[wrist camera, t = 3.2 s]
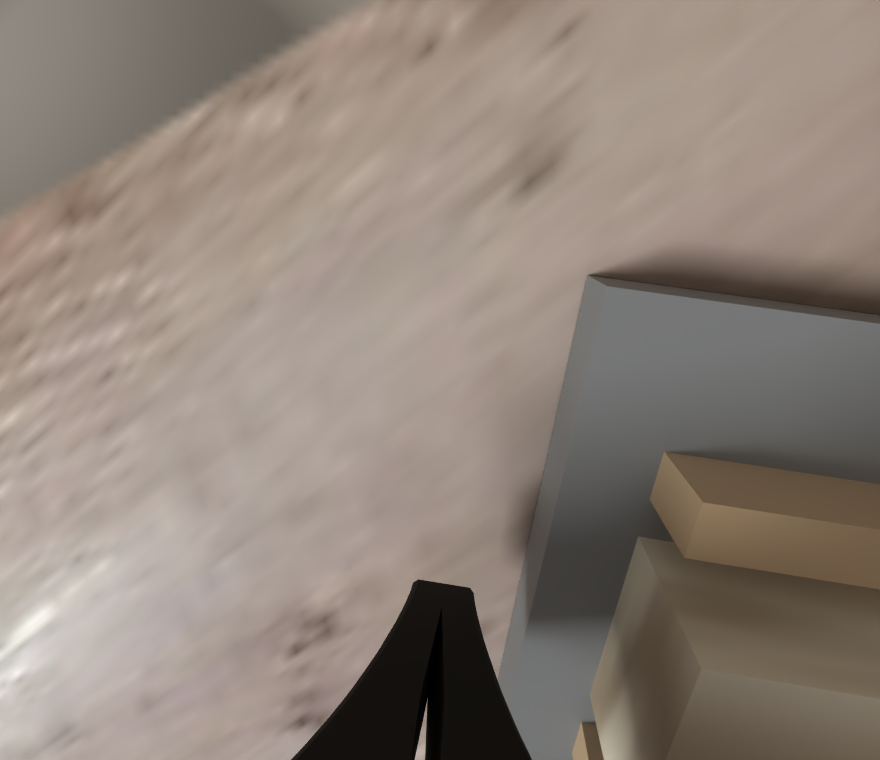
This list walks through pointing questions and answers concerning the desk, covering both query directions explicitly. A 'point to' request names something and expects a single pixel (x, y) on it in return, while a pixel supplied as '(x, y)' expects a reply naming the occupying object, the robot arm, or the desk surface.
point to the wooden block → (737, 664)
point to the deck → (689, 472)
